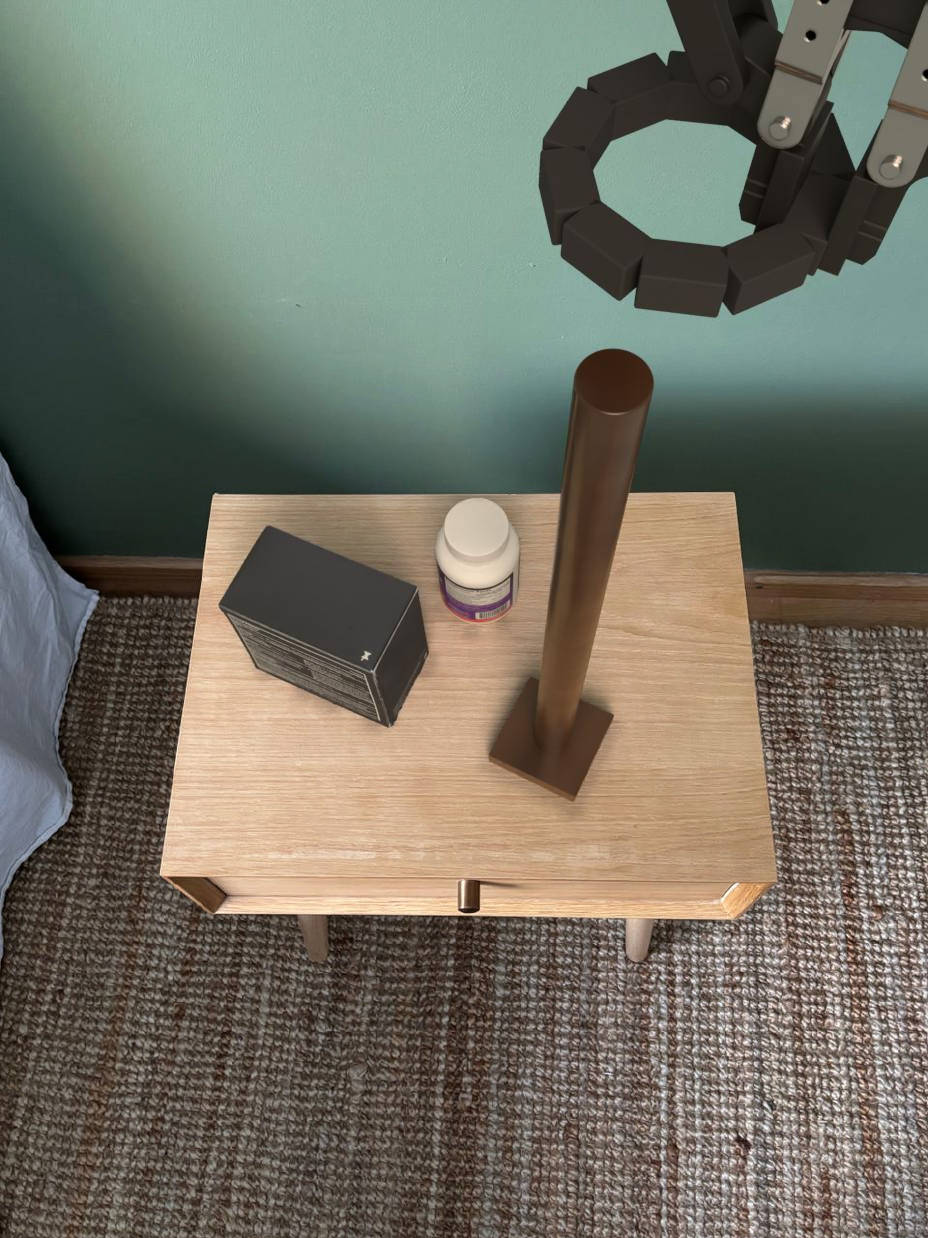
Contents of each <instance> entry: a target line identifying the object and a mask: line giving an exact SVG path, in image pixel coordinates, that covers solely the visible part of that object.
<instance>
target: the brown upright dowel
mask: <svg viewBox="0 0 928 1238" xmlns="http://www.w3.org/2000/svg"><path fill="white" fill-rule="evenodd" d="M572 382H573V383H572V390H571V400H570V408H569V417H568V427H567V435H566V444H565V452H564V459H563V460H564V461H563V470H562V478H561V486H560V487H561V488H560V497H559V504H558V505H559V506H558V513H557V514H558V515H557V523H556V529H555V530H556V532H555V538H554V539H555V540H554V548H553V558H552V566H551V576H550V582H549V583H550V584H549V592H548V593H549V594H548V601H547V610H546V618H545V619H546V620H545V629H544V635H543V636H544V637H543V645H542V653H541V654H542V655H541V663H540V673H539V679H538V678H536V677H534V676H532V675H529V677H528V678H527V680H526V683H525V684H524V686H523V688H522V691H521V692H520V694H519V696H518V698H517V700H516V703H514V706H513V708H512V710H511V712H510V714H509V716H508V717H507V719H506V722H505V724H504V725H503V728H502V730H501V732H500V734H499V736H498V737H497V739H496V741H495V743H494V745H493V747H492V749H491V750H490V753H489V763H492V764H494V765H495V766H499V767H500V768H502V769H504V770H506V771H508V772H511V773H512V774H515V775H517V776H519V777H520V778H523V779H525V780H526V781H529V782H531V783H533V784H535V785H537V786H539V787H540V788H543V789H545V790H547V791H549V792H551V793H553V794H555V795H557V796H559V797H562V798H563V799H565V800H568V801H570V802H572V803H575V801H576V799H577V797H578V794H579V793H580V790H581V788H582V787H583V784H584V782H585V780H586V778H587V776H588V774H589V771H590V769H591V767H592V765H593V763H594V761H595V759H596V757H597V755H598V752H599V750H600V748H601V746H602V744H603V742H604V740H605V737H606V735H607V733H608V731H609V729H610V727H611V725H612V723H613V720H614V717H615V715H614V713H611V712H610V711H607V710H605V709H603V708H601V707H598V706H596V705H594V704H591V703H590V702H587V701H586V700H584V699H581V697H582V693H583V690H584V685H585V680H586V677H587V672H588V668H589V664H590V660H591V655H592V650H593V647H594V642H595V639H596V635H597V629H598V626H599V621H600V617H601V613H602V608H603V605H604V600H605V595H606V592H607V587H608V584H609V579H610V575H611V571H612V568H613V567H612V566H613V562H614V558H615V553H616V549H617V546H618V542H619V538H620V533H621V529H622V525H623V520H624V516H625V513H626V509H627V503H628V498H629V496H630V495H629V494H630V492H631V487H632V484H633V478H634V474H635V469H636V466H637V462H638V457H639V452H640V449H641V444H642V440H643V435H644V432H645V427H646V424H647V418H648V415H649V411H650V406H651V402H652V398H653V394H654V389H655V378H654V374H653V371H652V369H651V368H650V366H649V364H648V363H647V362H646V361H645V360H644V359H643V358H641V357H640V356H639V355H638V354H636V353H634V352H631V351H629V350H626V349H622V348H614V347H613V348H610V347H609V348H603V349H599V350H596V351H594V352H592V353H590V354H588V355H587V356H586V357H584V358H583V359H582V360H581V362H580V363H579V364H578V366H577V367H576V369H575V371H574V375H573V381H572Z"/></svg>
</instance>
